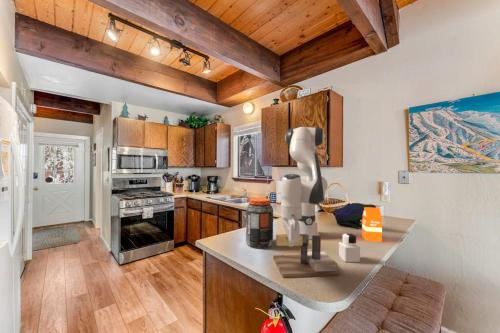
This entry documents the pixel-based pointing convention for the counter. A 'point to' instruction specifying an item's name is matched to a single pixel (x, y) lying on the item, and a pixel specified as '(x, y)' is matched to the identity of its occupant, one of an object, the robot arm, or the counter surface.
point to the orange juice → (372, 224)
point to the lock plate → (307, 262)
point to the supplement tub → (259, 223)
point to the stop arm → (283, 241)
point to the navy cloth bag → (351, 214)
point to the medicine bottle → (349, 249)
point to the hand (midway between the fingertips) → (290, 245)
